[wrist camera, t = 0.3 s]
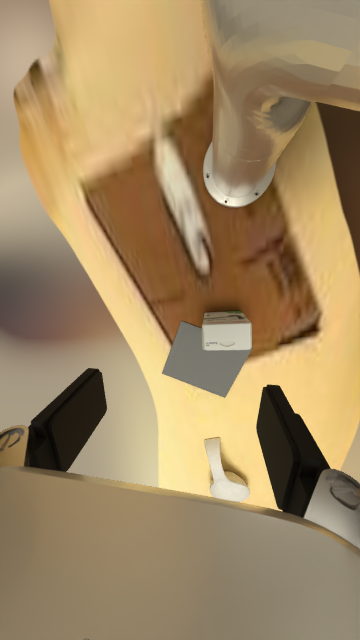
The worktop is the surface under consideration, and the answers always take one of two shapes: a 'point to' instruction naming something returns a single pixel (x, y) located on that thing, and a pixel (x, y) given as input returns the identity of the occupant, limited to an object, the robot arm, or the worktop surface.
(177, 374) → the mat
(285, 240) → the worktop surface
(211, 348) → the ink box
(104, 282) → the worktop surface
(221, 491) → the spoon rest
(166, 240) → the worktop surface
